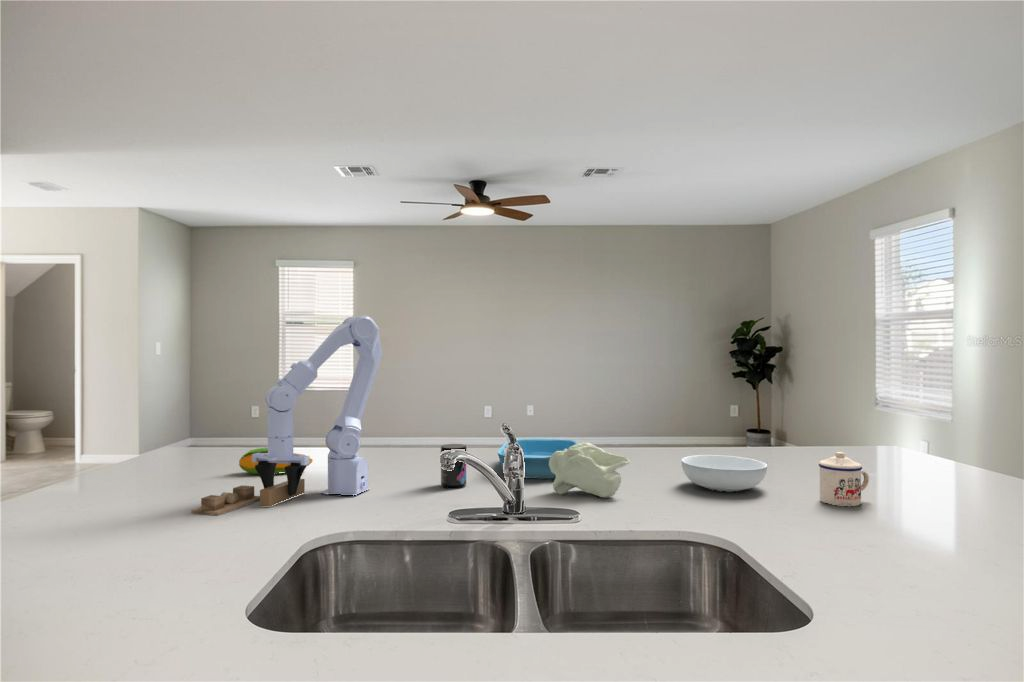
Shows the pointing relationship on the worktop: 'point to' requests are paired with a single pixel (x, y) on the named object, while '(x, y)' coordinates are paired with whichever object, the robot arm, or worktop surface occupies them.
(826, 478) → the teacup with lid
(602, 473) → the folded clay sculpture
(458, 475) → the supplement container
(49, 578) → the worktop surface
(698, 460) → the serving bowl
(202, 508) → the display stand
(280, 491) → the long wooden plank
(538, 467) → the casserole dish
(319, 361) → the robot arm
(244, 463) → the corn
